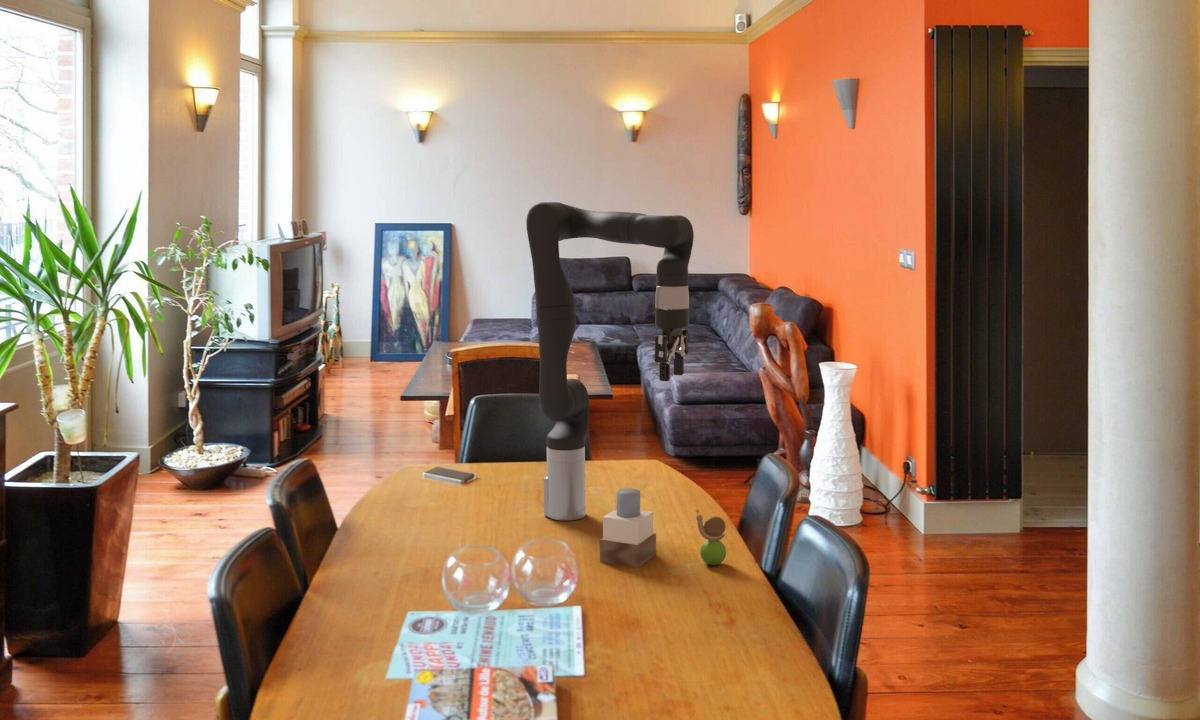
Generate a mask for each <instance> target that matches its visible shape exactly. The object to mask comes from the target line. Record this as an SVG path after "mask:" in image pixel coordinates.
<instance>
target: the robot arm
mask: <svg viewBox="0 0 1200 720" xmlns="http://www.w3.org/2000/svg"><path fill="white" fill-rule="evenodd" d="M525 223H526V233H527V239H528V245H529V250H530V255H531V262H532V272H533V283H534V291H535V292H534V293H535V311H536V324H537V333H538V349H539V353H538V355H539V379H538V381H539V383H538V384H539V386H538V393H539V394H538V397H539V398H538V399H539V407H540V410H541V412H542V413H543V415H544V416H545V418H547V420H550V421H551V422H555V424H554V426H553V427H552V428H551V430H550V431H549V433H548V434H547V435H546V476H545V477H544V478H543V516H544V517H548V518H549V519H552V520H557V521H575V520H579V519H582V518H584V517H586V507H587V506H586V439H587V436H588V433H589V421H590V420H589V417H590V397H589V392H588V389H587V387H586V386H585V384H584V383H583V382H582V381H581V380H580V379H577V378H568V374H567V359H568V354H569V351H570V348H571V345H572V342H573V340H574V335H575V332H576V329H577V328H576V325H577V315H576V301H575V296H574V292H573V290H572V287H571V284H570V283H569V280H568V279H567V276H566V275H565V272H564V269H563V267H562V263H561V258H560V246H559V245H560V243H559V242H560V241H563V240H571V239H579V238H584V239H585V238H586V239H587V238H590V239H591V238H592V239H599V240H602V241H607V242H611V243H618V244H625V245H626V244H627V245H644V246H649V247H655V248H663V249H664V250H663V255H662V256H663V257H662V258H661V259H660V260H659V261H658V262H657V264H656V277H655V278H656V284H655V285H656V286H655V287H656V290H655V299H654V304H655V306H654V307H655V308H654V309H655V311H654V315H655V316H654V320H655V322H654V325H655V327H656V328H658V329H661V334H655V337H654V338H655V339H654V342H655V343H654V362H655V363H657V364H658V365H659V381H661V382H669V381H670V379H671V377H670V376H671V364H670V363H671V361H672V360H671V359H672V357H673V375H675V376H683V375H684V374H685V371H684V370H685V364H684V363H685V359H686V356H687V355H688V354H689V330H688V327H689V325H690V292H689V263H690V259H691V255H692V250H693V247H694V228H693V224H692V223H691V221H690V220H689V219H688V218H687V217H685V216H684V215H678V214H677V215H649V214H646V213H640V212H627V211H595V210H587V209H584V208H579V207H575V206H573V205H570V204H569V205H568V204H565V203H561V202H558V201H554V202H553V201H549V202H548V201H542V202H537V203H534V204H533V205H532V206H531V207H530V208H529V210H528V213H527V215H526V221H525Z"/></svg>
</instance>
